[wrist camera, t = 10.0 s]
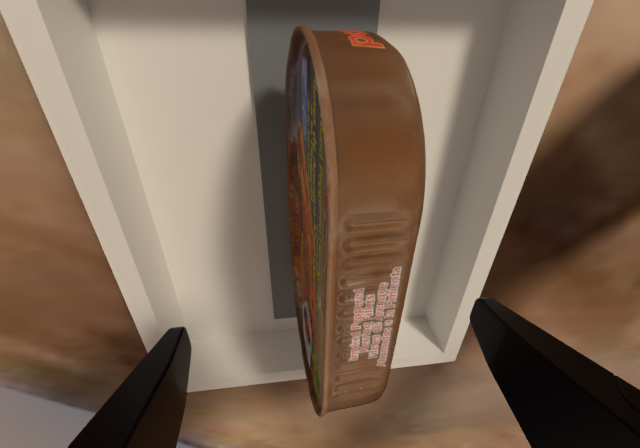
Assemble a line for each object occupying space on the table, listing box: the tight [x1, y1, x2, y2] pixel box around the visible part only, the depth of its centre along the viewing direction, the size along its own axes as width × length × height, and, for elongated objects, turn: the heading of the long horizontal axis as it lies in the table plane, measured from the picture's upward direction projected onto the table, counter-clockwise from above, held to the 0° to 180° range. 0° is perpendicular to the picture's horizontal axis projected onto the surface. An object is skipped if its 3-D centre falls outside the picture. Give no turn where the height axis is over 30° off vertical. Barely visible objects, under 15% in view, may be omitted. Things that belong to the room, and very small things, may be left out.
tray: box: [0, 0, 594, 392], centre depth 16 cm, size 18×22×4 cm
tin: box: [285, 25, 426, 417], centre depth 13 cm, size 15×3×8 cm, turn 179°
